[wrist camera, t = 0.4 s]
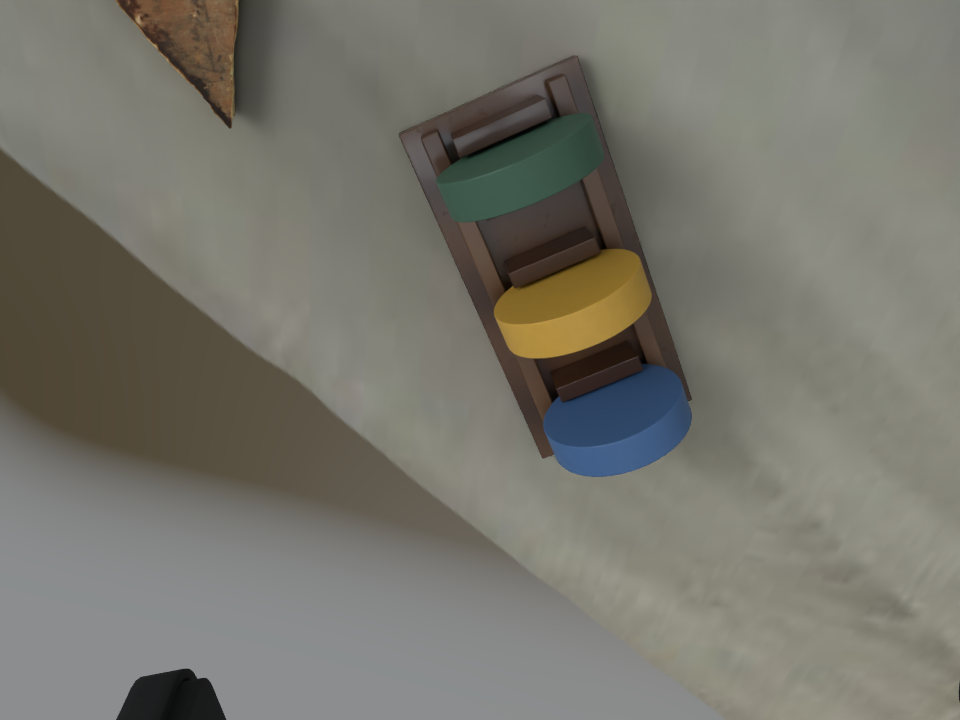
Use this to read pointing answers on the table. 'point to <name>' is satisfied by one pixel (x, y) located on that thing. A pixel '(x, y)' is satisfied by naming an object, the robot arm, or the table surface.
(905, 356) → the table surface
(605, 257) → the mustard disc
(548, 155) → the green disc
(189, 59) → the shard
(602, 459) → the blue disc
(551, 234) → the disc rack
